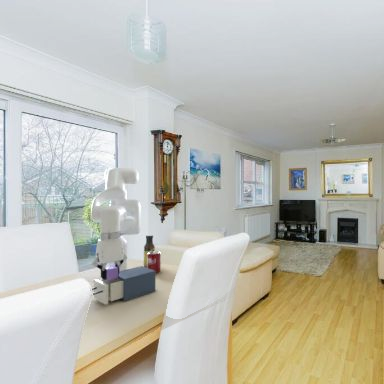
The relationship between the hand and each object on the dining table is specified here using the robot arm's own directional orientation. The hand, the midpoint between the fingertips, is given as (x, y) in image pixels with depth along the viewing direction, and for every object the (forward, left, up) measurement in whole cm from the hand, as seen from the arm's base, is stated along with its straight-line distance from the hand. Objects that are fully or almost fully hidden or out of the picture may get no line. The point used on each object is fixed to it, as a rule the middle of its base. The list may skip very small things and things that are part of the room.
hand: (110, 276), depth 113 cm
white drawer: (0, -1, -9) cm, 9 cm away
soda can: (-18, +31, -10) cm, 38 cm away
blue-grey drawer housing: (0, +10, -10) cm, 14 cm away
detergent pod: (0, 0, 0) cm, 0 cm away
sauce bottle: (-30, +35, -10) cm, 47 cm away
